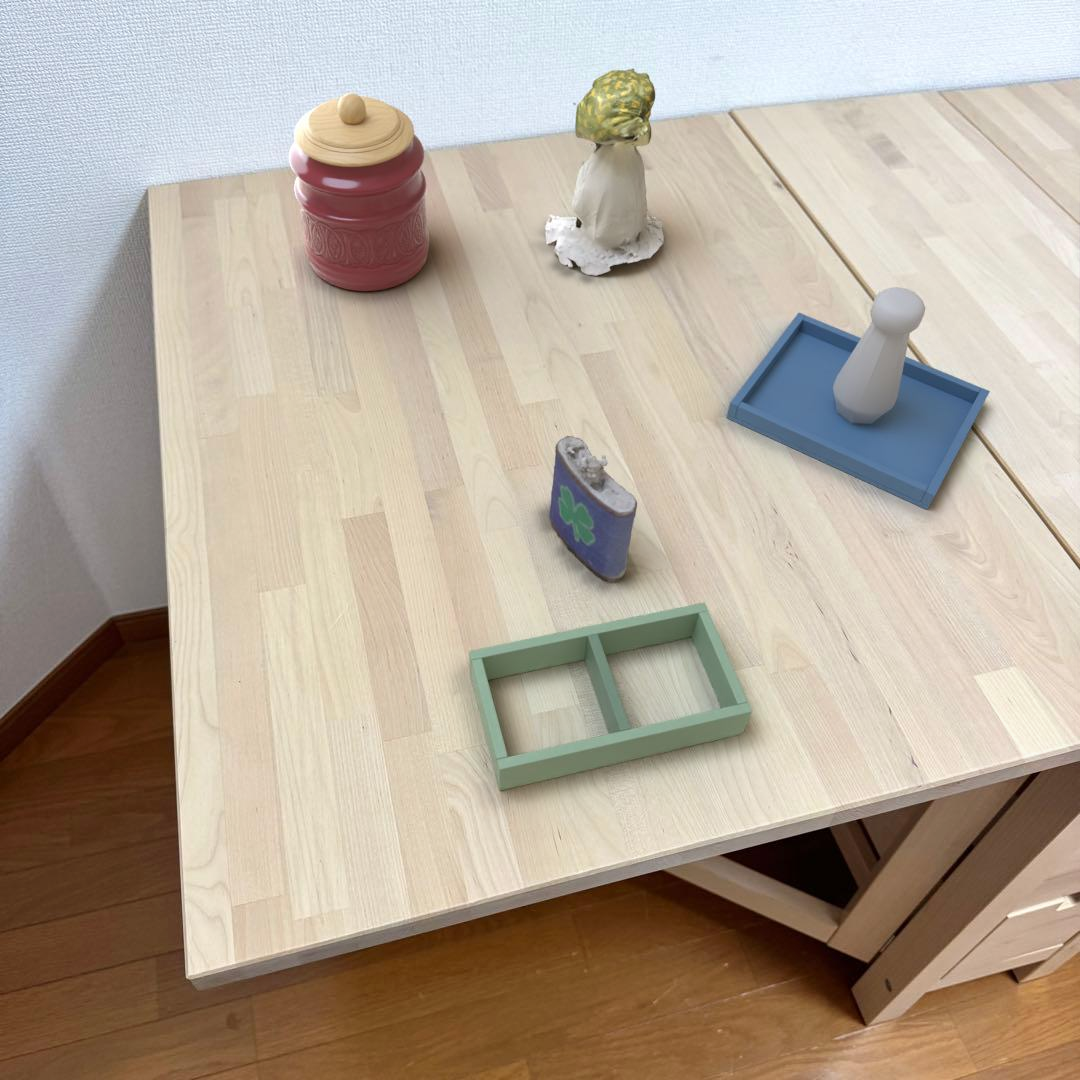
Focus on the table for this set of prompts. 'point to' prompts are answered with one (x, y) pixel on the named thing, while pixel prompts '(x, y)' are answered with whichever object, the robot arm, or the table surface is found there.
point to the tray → (858, 449)
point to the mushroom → (610, 179)
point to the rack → (609, 693)
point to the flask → (591, 510)
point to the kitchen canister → (360, 193)
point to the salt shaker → (878, 357)
